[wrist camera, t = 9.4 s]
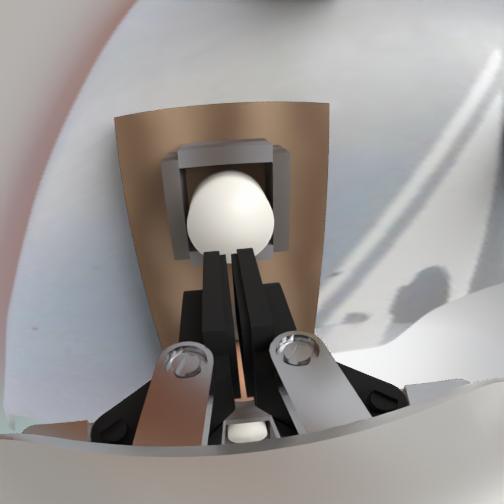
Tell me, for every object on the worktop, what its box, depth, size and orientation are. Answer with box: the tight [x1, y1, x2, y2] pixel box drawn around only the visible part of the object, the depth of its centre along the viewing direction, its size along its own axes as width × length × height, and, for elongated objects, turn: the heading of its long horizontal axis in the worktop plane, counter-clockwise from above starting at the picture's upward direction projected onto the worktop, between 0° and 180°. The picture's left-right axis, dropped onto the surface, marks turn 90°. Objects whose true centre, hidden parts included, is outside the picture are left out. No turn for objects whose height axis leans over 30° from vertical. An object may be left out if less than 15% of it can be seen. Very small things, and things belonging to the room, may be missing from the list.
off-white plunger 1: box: [187, 169, 274, 263], centre depth 17 cm, size 4×4×3 cm
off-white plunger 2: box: [227, 421, 267, 443], centre depth 31 cm, size 4×4×3 cm
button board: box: [114, 102, 329, 444], centre depth 27 cm, size 14×38×7 cm, turn 2°
